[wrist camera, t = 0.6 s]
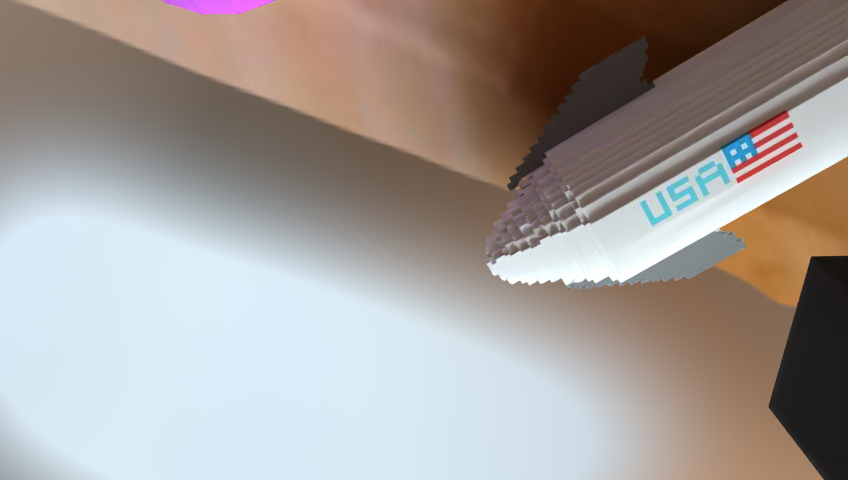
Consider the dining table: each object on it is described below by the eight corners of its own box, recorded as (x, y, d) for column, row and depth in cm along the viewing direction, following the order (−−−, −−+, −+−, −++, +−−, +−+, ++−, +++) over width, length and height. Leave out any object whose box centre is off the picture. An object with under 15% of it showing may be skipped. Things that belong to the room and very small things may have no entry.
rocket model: (1008, -246, 32) (407, 124, 37) (1171, -300, 26) (413, 161, 30) (1088, 43, 37) (545, 344, 41) (1245, 61, 30) (577, 419, 34)
